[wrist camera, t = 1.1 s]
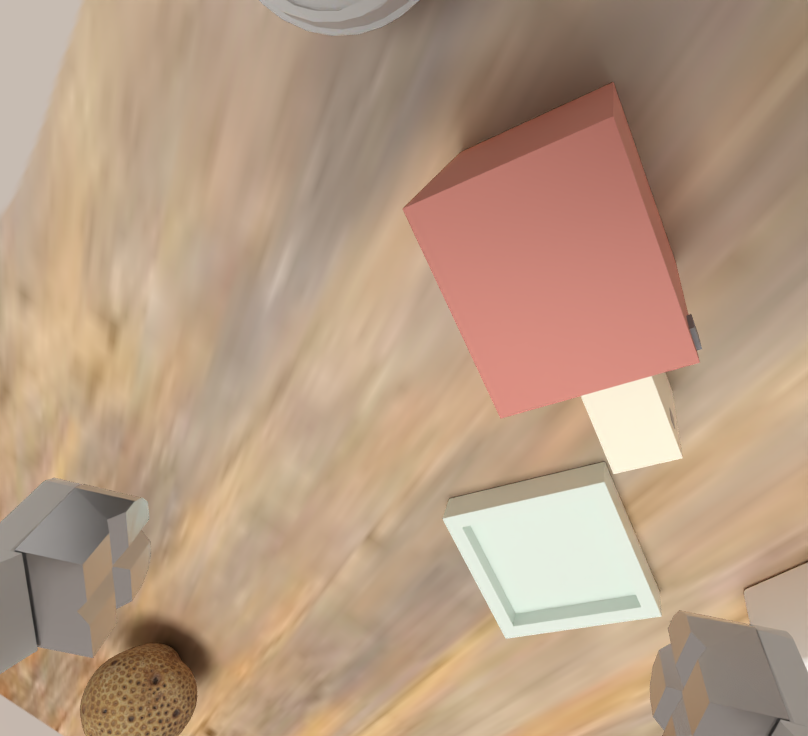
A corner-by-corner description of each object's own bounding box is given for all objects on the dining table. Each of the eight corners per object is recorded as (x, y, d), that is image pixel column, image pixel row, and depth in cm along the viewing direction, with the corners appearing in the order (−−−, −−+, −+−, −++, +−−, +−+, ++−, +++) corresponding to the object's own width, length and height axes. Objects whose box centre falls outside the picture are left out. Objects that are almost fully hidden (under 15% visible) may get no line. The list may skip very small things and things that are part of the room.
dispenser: (617, 80, 35) (619, 113, 24) (679, 261, 38) (705, 361, 27) (457, 153, 38) (397, 210, 28) (526, 314, 41) (496, 419, 31)
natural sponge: (195, 612, 62) (128, 711, 53) (234, 685, 65) (176, 788, 56) (114, 616, 65) (39, 709, 56) (155, 685, 68) (90, 783, 60)
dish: (604, 461, 44) (604, 482, 43) (659, 592, 48) (661, 616, 46) (449, 498, 49) (442, 518, 47) (509, 615, 52) (505, 638, 50)
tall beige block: (645, 317, 40) (651, 373, 34) (673, 391, 41) (683, 458, 35) (584, 336, 41) (579, 394, 35) (612, 407, 43) (613, 474, 37)
